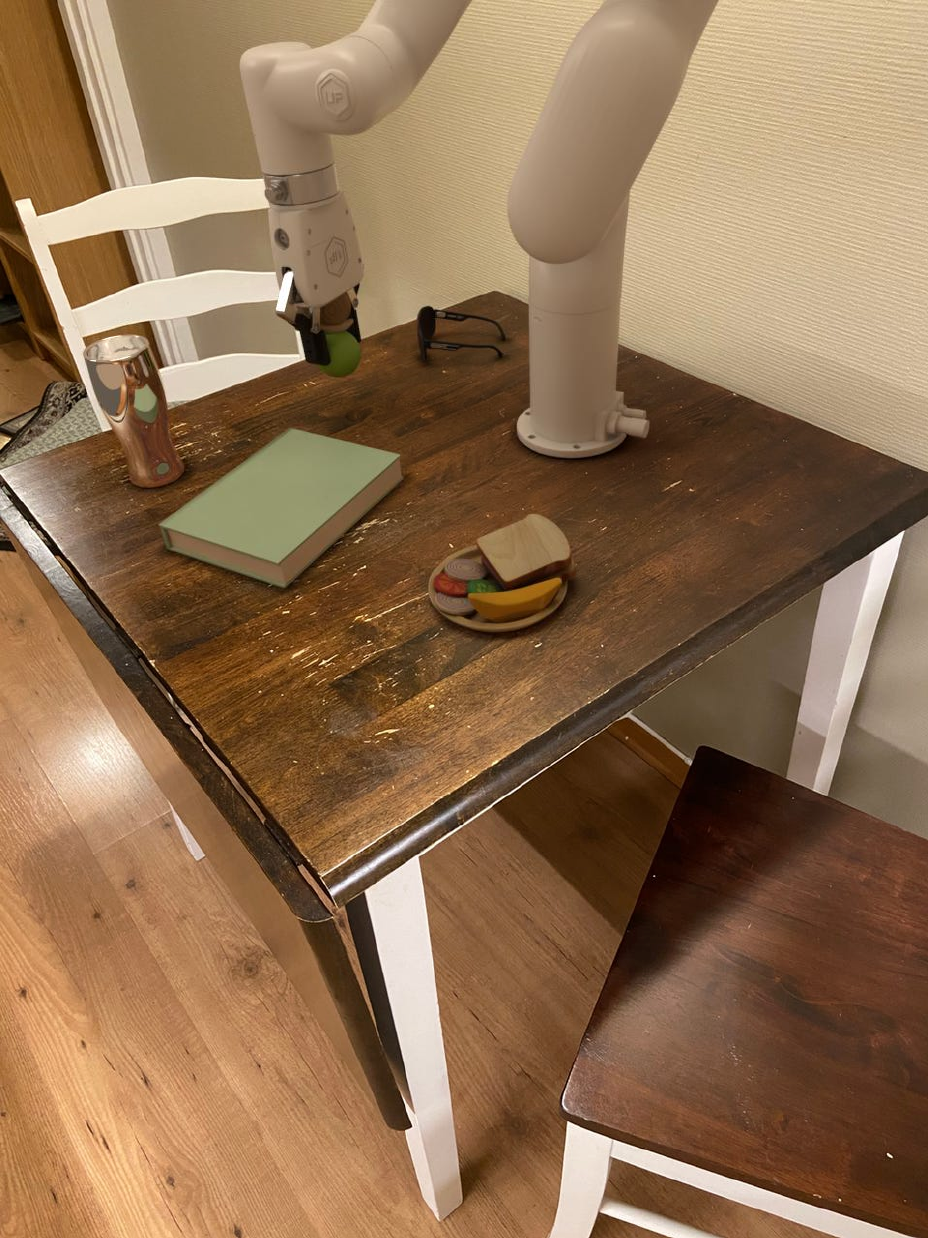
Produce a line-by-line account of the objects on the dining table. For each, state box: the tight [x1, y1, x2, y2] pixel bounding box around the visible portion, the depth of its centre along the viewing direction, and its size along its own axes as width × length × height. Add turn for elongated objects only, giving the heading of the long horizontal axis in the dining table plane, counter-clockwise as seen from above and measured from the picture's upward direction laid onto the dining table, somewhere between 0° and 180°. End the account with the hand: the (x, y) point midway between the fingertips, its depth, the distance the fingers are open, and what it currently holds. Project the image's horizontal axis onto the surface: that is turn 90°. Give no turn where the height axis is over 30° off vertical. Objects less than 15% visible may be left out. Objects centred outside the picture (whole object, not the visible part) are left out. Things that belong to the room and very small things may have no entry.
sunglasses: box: [416, 305, 506, 361], centre depth 119 cm, size 10×12×5 cm
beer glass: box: [82, 333, 185, 489], centre depth 95 cm, size 7×7×15 cm
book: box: [158, 427, 405, 589], centre depth 91 cm, size 15×21×3 cm
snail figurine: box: [304, 293, 362, 379], centre depth 101 cm, size 5×6×12 cm
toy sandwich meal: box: [427, 513, 577, 633], centre depth 78 cm, size 12×14×5 cm
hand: (334, 350), depth 103 cm, fingers closed on snail figurine, 5 cm apart
